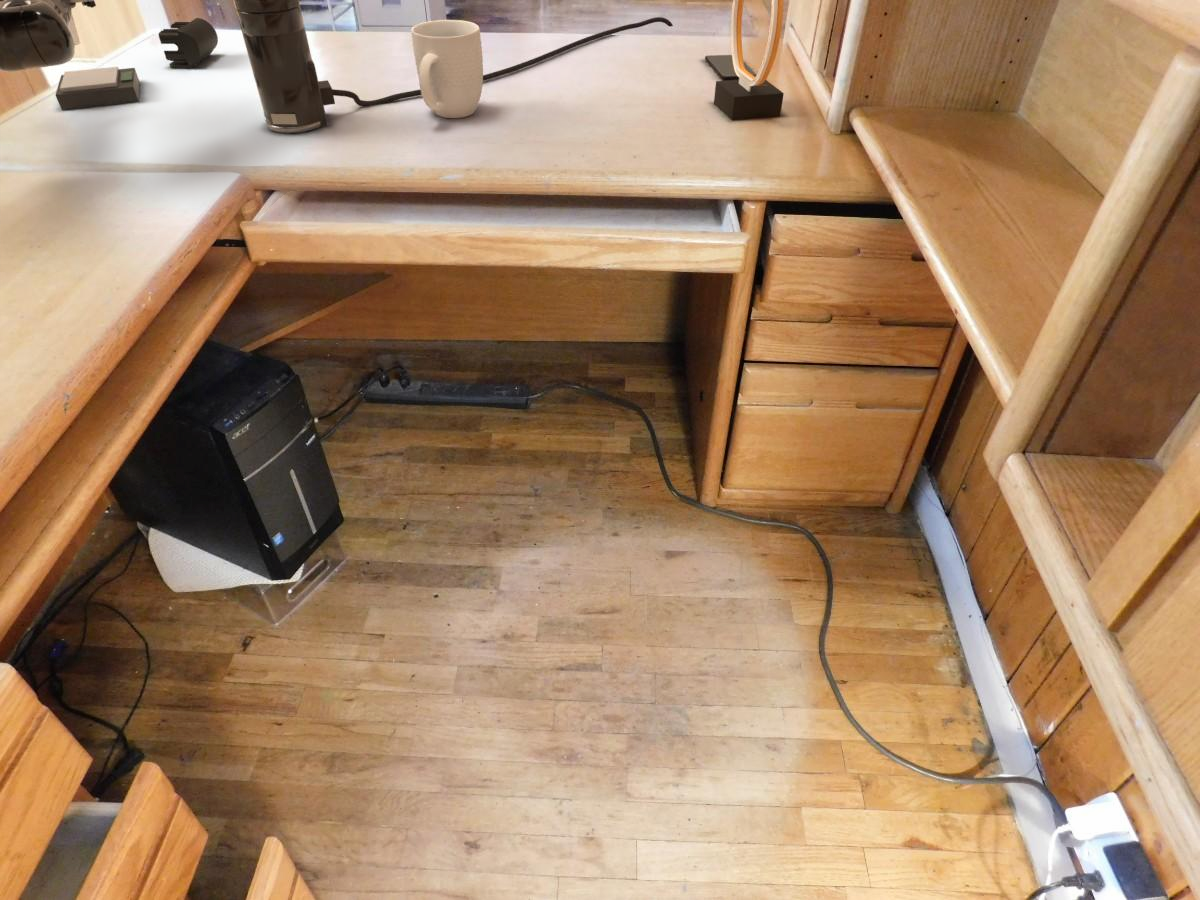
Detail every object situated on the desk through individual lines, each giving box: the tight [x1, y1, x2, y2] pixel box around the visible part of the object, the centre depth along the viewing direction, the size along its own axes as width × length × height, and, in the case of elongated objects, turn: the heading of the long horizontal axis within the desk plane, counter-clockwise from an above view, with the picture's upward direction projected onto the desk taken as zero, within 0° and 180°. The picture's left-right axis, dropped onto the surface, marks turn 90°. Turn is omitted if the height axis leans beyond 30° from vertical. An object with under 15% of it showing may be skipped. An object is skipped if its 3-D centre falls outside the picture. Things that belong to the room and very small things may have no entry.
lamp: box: [713, 0, 785, 121], centre depth 124 cm, size 17×9×32 cm, turn 14°
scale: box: [55, 66, 141, 111], centre depth 136 cm, size 12×12×3 cm
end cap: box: [158, 17, 219, 69], centre depth 151 cm, size 10×7×7 cm
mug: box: [410, 19, 484, 119], centre depth 127 cm, size 15×11×13 cm
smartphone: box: [704, 54, 757, 81], centre depth 151 cm, size 7×1×15 cm
